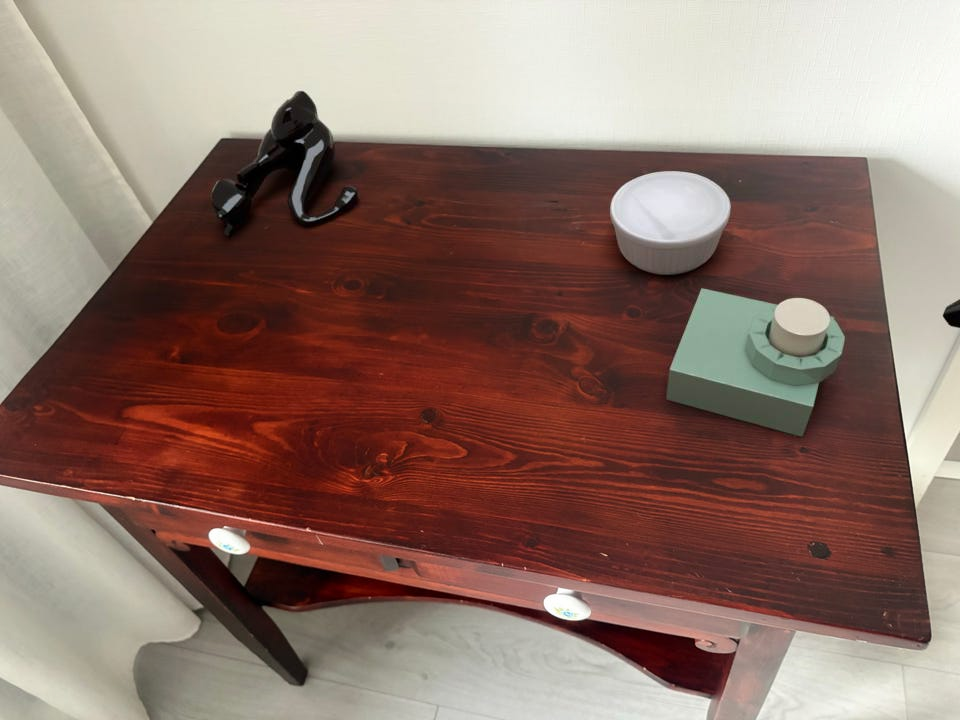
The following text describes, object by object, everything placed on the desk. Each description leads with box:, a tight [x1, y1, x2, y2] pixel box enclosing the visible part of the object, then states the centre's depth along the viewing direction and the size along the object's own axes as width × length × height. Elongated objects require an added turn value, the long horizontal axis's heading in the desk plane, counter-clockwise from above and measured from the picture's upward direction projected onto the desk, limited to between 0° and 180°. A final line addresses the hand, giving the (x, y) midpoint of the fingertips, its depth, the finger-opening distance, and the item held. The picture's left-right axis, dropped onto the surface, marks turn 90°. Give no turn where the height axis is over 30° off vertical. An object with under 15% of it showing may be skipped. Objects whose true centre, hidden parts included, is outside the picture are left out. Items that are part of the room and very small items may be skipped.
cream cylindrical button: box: [769, 297, 831, 357], centre depth 58 cm, size 4×4×2 cm
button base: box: [665, 287, 846, 438], centre depth 62 cm, size 12×10×6 cm
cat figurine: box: [210, 90, 359, 238], centre depth 87 cm, size 10×14×18 cm
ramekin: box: [609, 170, 732, 276], centre depth 74 cm, size 11×11×5 cm
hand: (946, 317), depth 50 cm, fingers closed
